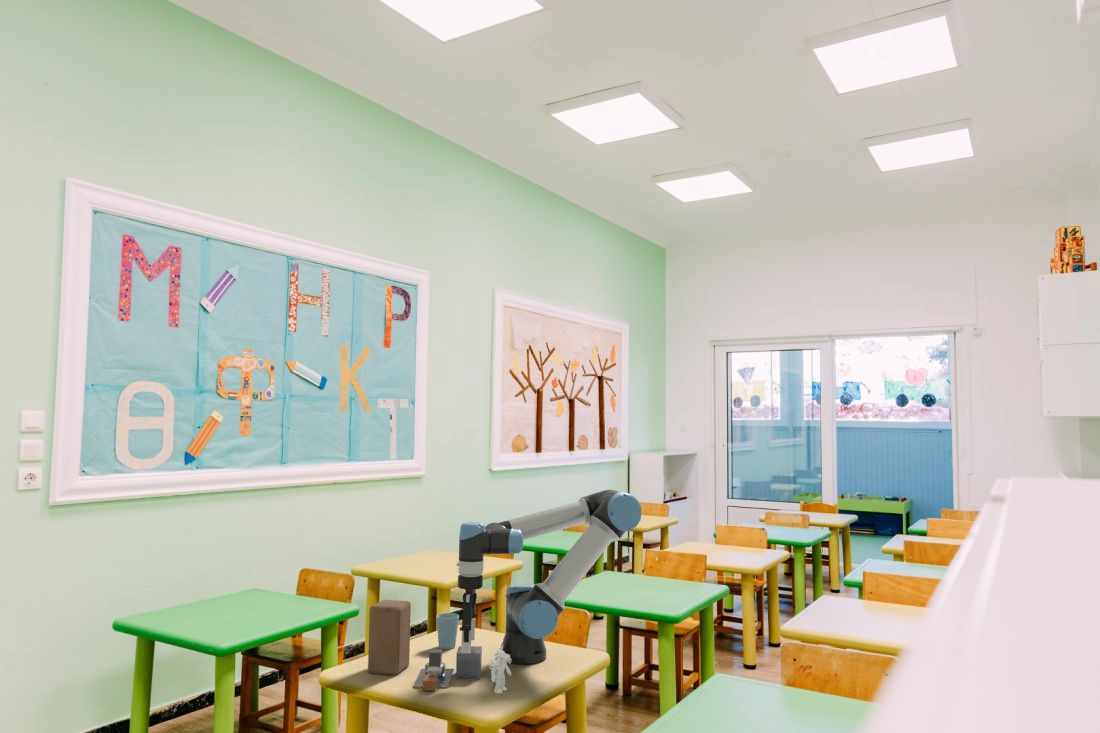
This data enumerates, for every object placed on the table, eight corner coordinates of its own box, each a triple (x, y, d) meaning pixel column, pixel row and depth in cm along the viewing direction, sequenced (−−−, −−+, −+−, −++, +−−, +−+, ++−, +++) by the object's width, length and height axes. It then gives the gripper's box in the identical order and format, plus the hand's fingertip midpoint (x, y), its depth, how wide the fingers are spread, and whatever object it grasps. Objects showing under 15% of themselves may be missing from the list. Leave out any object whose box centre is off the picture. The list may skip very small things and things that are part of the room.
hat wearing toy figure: (503, 684, 214) (504, 642, 215) (514, 687, 212) (515, 644, 213) (484, 694, 206) (485, 650, 207) (496, 696, 204) (496, 652, 205)
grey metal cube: (481, 671, 225) (481, 646, 226) (479, 679, 218) (480, 653, 219) (458, 671, 225) (458, 646, 226) (456, 679, 218) (456, 653, 219)
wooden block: (397, 676, 220) (399, 607, 222) (366, 673, 222) (368, 606, 224) (410, 666, 230) (412, 600, 232) (380, 663, 232) (382, 598, 234)
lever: (454, 669, 227) (454, 645, 227) (446, 691, 208) (447, 664, 208) (421, 669, 226) (422, 645, 227) (411, 691, 208) (411, 664, 208)
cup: (455, 650, 246) (455, 618, 247) (432, 649, 247) (433, 617, 248) (461, 644, 254) (461, 613, 254) (439, 643, 255) (440, 612, 256)
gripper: (462, 566, 237) (459, 634, 235) (453, 582, 212) (450, 658, 210) (485, 567, 237) (483, 635, 235) (479, 583, 212) (477, 659, 210)
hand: (468, 646), depth 222 cm, fingers open, 13 cm apart
